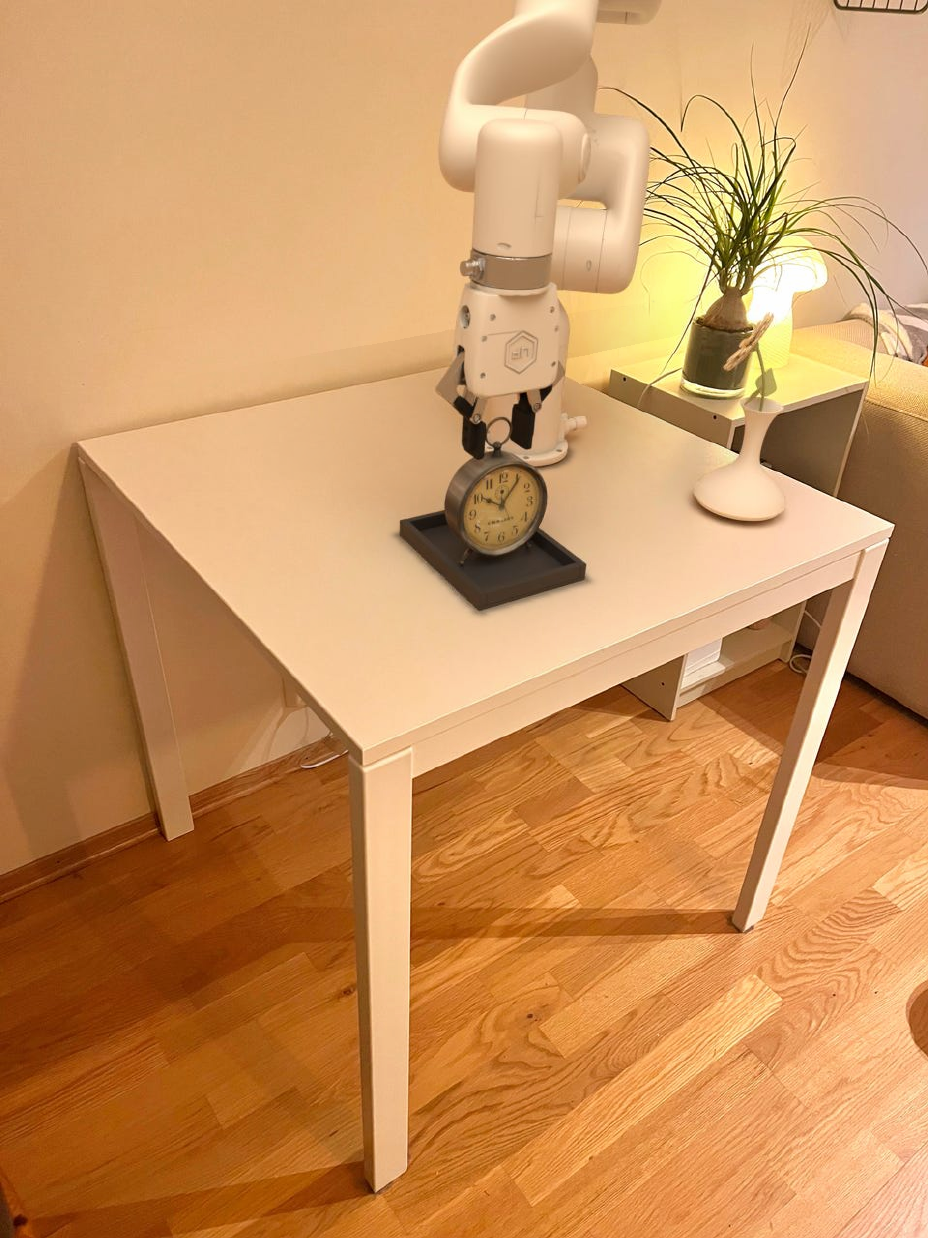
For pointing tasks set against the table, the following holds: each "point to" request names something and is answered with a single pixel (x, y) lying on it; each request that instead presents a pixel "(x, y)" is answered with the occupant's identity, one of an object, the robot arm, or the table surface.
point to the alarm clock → (495, 502)
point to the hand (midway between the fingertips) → (497, 447)
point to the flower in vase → (747, 452)
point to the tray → (492, 563)
